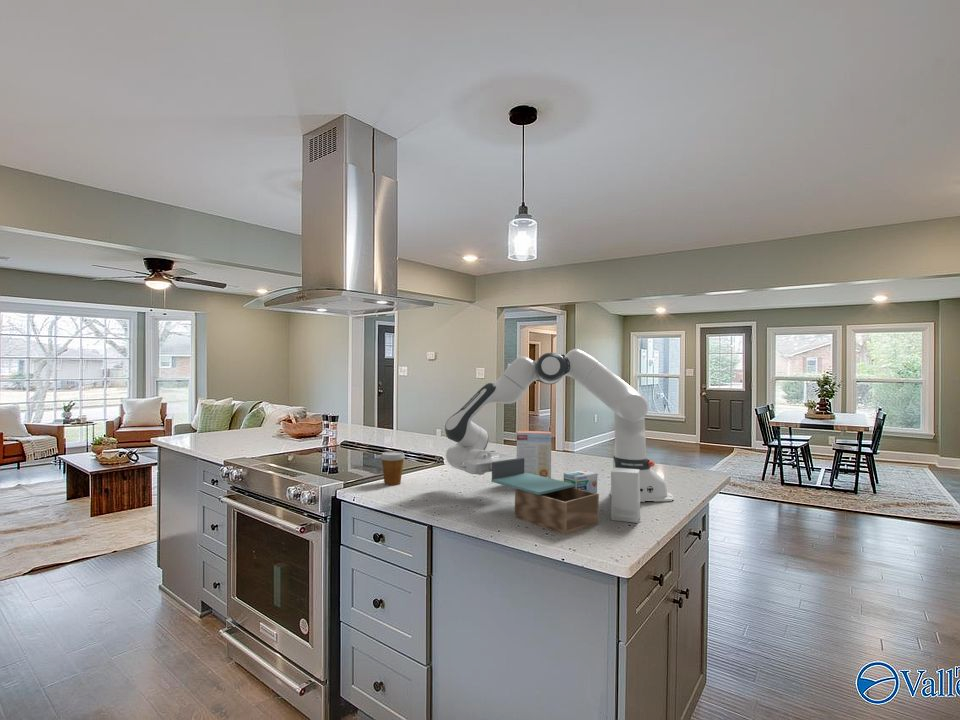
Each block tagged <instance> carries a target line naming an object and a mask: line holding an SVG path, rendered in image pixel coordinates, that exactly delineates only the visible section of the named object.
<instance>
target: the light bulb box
mask: <svg viewBox="0 0 960 720" xmlns="http://www.w3.org/2000/svg"><path fill="white" fill-rule="evenodd" d="M563 481H564V482H568V483H572V484H575V487H573V488H577V489H581V490H585V491H589V492H593V493H597V494H598V473H597V472H594V471H593V472H592V471H588V470H585V469H582V470H578V471H570V472H564V473H563Z"/></svg>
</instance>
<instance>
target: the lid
mask: <svg viewBox="0 0 960 720" xmlns="http://www.w3.org/2000/svg"><path fill="white" fill-rule="evenodd" d="M491 483H494V484H498V485H502V486H505V487H509V488H512V489H514V490H515V489H519V490H523V491H526V492H530V493H533V494H537V495H542V494H546V493H550V492H554V491H559V490H563V489H567V488H571V487H575V484H572V483H568V482H564V480H563V481H562V480H559V479H555V478H552V477H551V478H547V477H543V476H539V475H534V474H530V473H524V458H517V457H516V458H514V459H510V460H504V461H497V462H492V472H491Z"/></svg>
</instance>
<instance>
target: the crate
mask: <svg viewBox="0 0 960 720" xmlns="http://www.w3.org/2000/svg"><path fill="white" fill-rule="evenodd" d="M599 499H600V494H599V493H598V492H597V493H593V492H589V491H585V490H581V489H577V488H573V487H571V488H567V489H563V490H559V491H554V492H550V493H546V494H542V495H537V494H533V493H530V492H526V491H523V490H519V489H515V488H514V518H515V519H517V518H519V519H518V520H520V519H521V521H523V520H524V522H526V521H527V523H529V522H530V524H532V523H533V525H535V524H536V526H538V525H539V526H538V527H541V526H542V527H541V528H544V527H545V529H547V530H550V531H554V532H555V533H558V534H561V535H568V534H570V533H574V532H577V531H580V530H582V529H583V530H584V529H586V528H590V527H591V526H594V525H595V526H596V525H599V514H600V513H599V512H600V511H599V504H600V503H599V502H600V500H599Z"/></svg>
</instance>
